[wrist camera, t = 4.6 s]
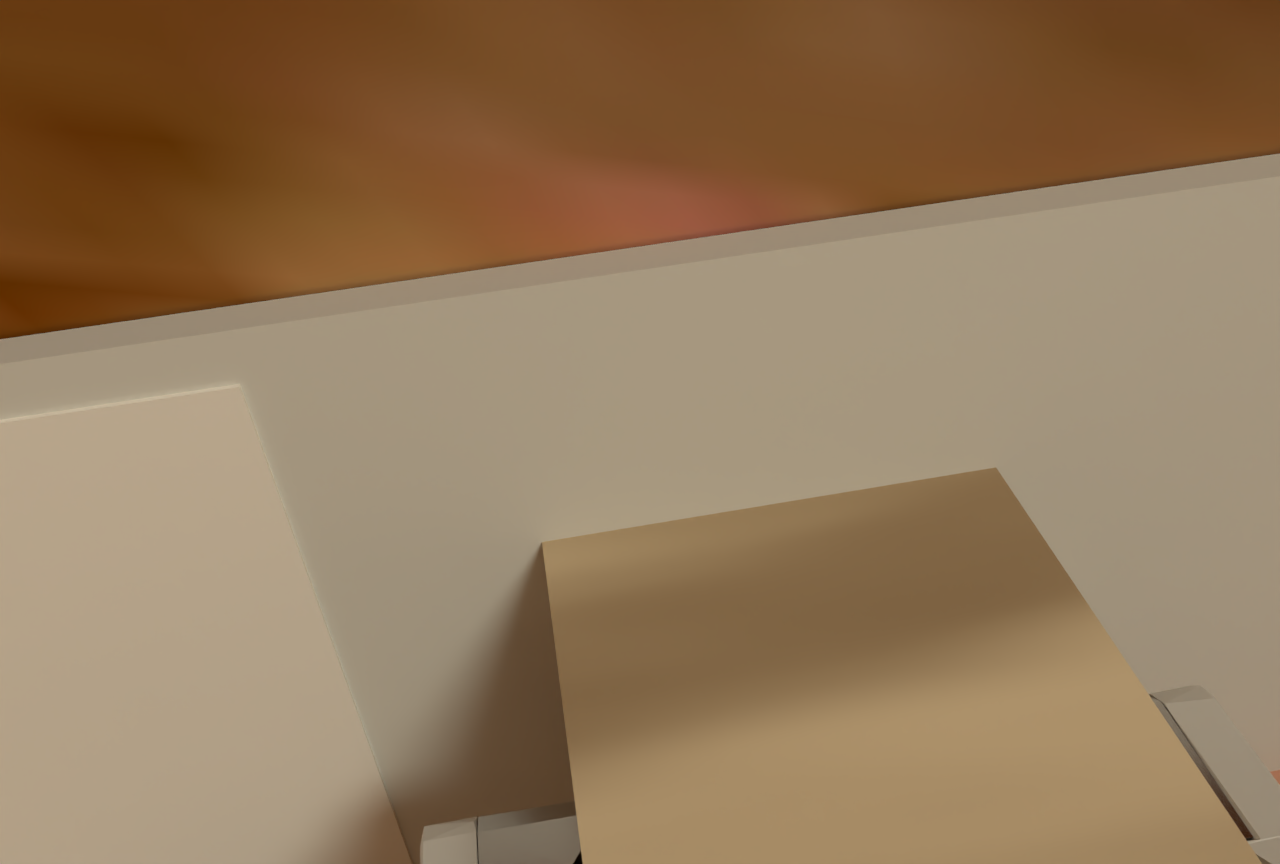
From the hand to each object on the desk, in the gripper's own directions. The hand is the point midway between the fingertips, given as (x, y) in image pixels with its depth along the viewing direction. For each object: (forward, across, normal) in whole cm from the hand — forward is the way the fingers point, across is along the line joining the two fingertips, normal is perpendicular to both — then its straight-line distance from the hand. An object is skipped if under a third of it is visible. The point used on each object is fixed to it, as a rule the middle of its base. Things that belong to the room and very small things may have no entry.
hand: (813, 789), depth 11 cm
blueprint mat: (+2, +1, +2) cm, 3 cm away
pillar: (+2, 0, 0) cm, 2 cm away
